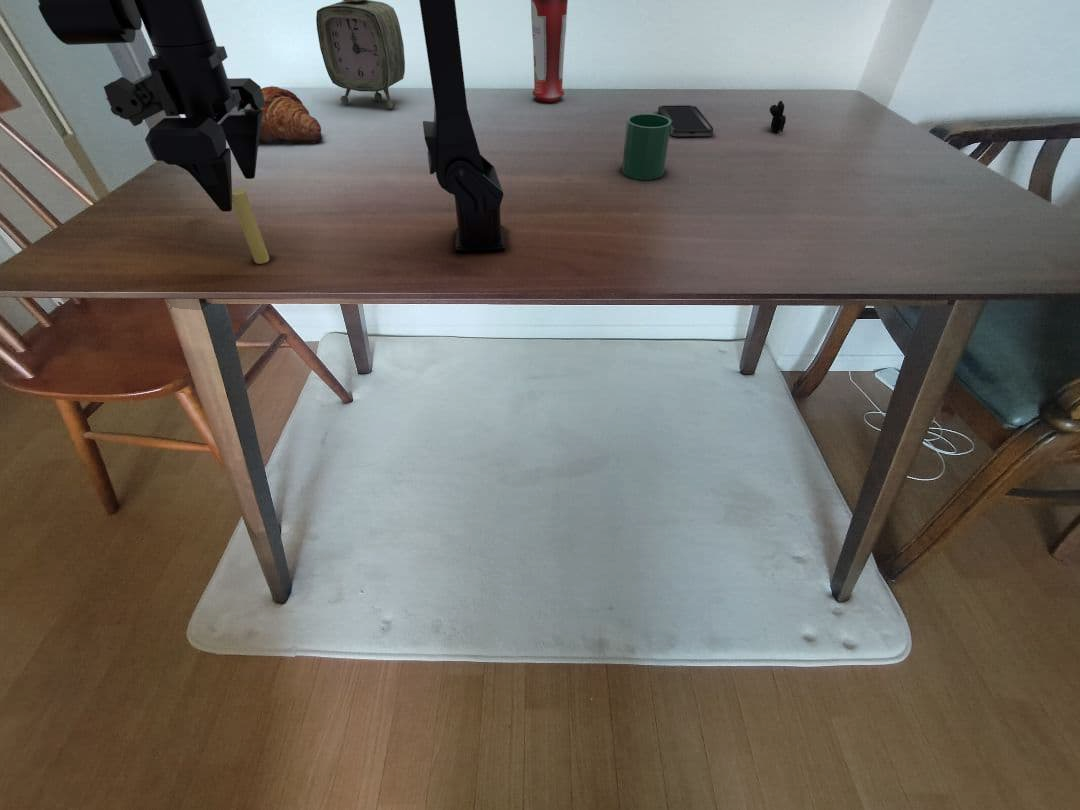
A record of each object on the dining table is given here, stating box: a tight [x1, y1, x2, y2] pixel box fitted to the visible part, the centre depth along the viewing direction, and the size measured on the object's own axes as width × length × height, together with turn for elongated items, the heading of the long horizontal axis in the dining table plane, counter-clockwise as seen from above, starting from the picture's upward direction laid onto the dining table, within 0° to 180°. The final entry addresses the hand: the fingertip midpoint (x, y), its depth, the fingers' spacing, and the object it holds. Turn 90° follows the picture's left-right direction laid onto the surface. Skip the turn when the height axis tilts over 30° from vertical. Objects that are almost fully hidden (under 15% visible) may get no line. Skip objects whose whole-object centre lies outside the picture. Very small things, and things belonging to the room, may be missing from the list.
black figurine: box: [769, 100, 787, 133], centre depth 109 cm, size 7×2×5 cm, turn 175°
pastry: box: [249, 85, 323, 144], centre depth 105 cm, size 17×15×8 cm
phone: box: [657, 104, 714, 138], centre depth 112 cm, size 8×1×15 cm
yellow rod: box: [232, 188, 270, 265], centre depth 71 cm, size 2×2×9 cm
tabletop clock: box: [315, 0, 406, 110], centre depth 114 cm, size 14×9×25 cm, turn 73°
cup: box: [621, 113, 671, 181], centre depth 93 cm, size 7×7×8 cm
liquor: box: [530, 0, 569, 104], centre depth 115 cm, size 7×7×28 cm
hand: (239, 193), depth 68 cm, fingers open, 9 cm apart
